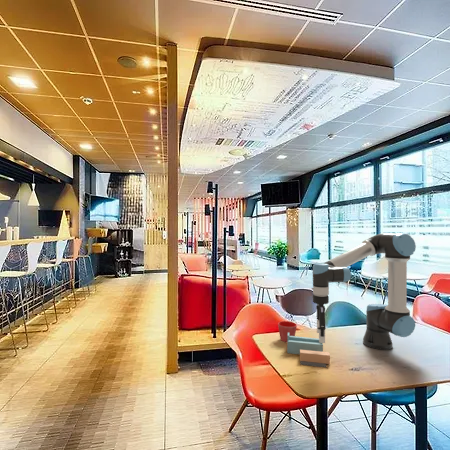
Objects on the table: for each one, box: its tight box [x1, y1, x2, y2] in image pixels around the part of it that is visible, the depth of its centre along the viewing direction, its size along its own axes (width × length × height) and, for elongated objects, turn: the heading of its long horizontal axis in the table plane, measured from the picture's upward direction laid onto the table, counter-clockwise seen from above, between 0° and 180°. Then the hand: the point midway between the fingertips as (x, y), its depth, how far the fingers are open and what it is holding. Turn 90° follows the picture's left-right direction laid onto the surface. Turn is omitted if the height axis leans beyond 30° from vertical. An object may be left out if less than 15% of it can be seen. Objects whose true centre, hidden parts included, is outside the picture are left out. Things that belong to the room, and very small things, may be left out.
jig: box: [286, 333, 324, 355], centre depth 159 cm, size 18×9×9 cm, turn 77°
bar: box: [299, 350, 331, 365], centre depth 147 cm, size 14×4×4 cm, turn 78°
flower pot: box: [277, 320, 298, 343], centre depth 176 cm, size 11×11×10 cm
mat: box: [299, 360, 327, 368], centre depth 147 cm, size 12×10×1 cm
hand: (320, 337), depth 147 cm, fingers open, 13 cm apart
